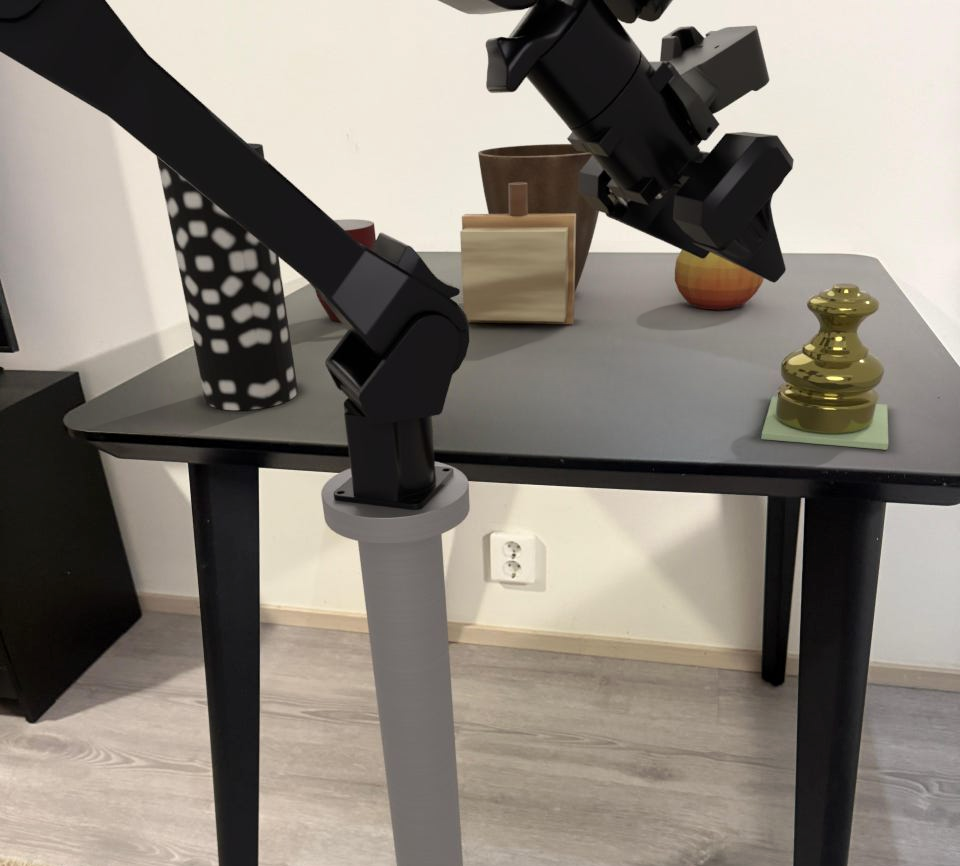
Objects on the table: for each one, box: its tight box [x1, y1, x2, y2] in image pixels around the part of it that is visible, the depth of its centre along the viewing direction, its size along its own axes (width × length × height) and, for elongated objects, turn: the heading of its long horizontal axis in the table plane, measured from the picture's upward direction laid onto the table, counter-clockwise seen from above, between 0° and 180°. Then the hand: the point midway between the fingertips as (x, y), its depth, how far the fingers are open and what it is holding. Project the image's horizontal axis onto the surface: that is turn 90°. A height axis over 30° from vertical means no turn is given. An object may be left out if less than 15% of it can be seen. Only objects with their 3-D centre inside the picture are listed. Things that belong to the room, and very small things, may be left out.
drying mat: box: [760, 396, 889, 451], centre depth 73 cm, size 9×9×1 cm
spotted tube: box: [156, 142, 299, 411], centre depth 79 cm, size 8×8×20 cm
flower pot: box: [477, 143, 600, 292], centre depth 109 cm, size 15×15×16 cm
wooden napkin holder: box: [459, 182, 576, 325], centre depth 98 cm, size 5×12×14 cm, turn 77°
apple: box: [674, 249, 765, 311], centre depth 104 cm, size 10×10×8 cm
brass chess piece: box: [775, 282, 885, 434], centre depth 69 cm, size 7×8×10 cm
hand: (741, 264), depth 64 cm, fingers open, 9 cm apart
